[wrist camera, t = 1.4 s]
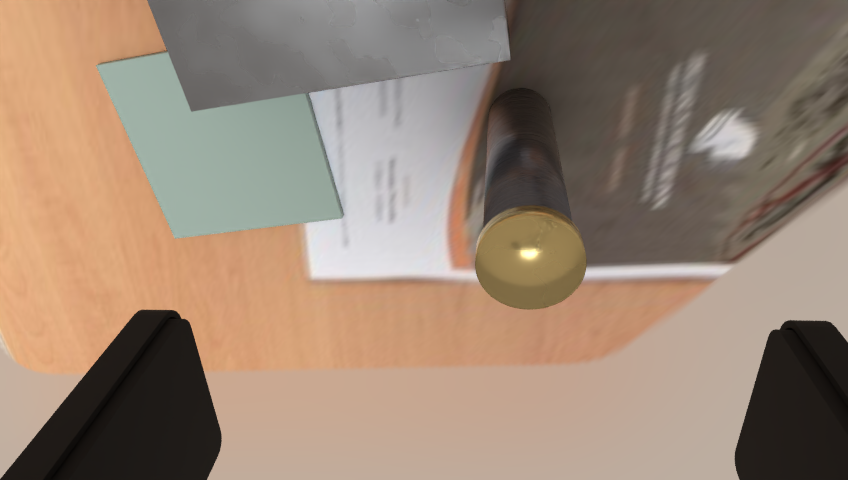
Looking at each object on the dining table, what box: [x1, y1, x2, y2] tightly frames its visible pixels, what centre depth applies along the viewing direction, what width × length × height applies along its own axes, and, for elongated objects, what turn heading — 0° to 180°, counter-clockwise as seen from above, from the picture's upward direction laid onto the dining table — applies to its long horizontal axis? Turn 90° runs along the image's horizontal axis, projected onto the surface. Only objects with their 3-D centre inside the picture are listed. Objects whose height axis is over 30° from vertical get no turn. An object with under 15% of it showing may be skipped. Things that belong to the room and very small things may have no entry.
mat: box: [96, 51, 343, 238], centre depth 32 cm, size 10×10×1 cm
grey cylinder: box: [475, 89, 586, 309], centre depth 25 cm, size 3×3×13 cm
